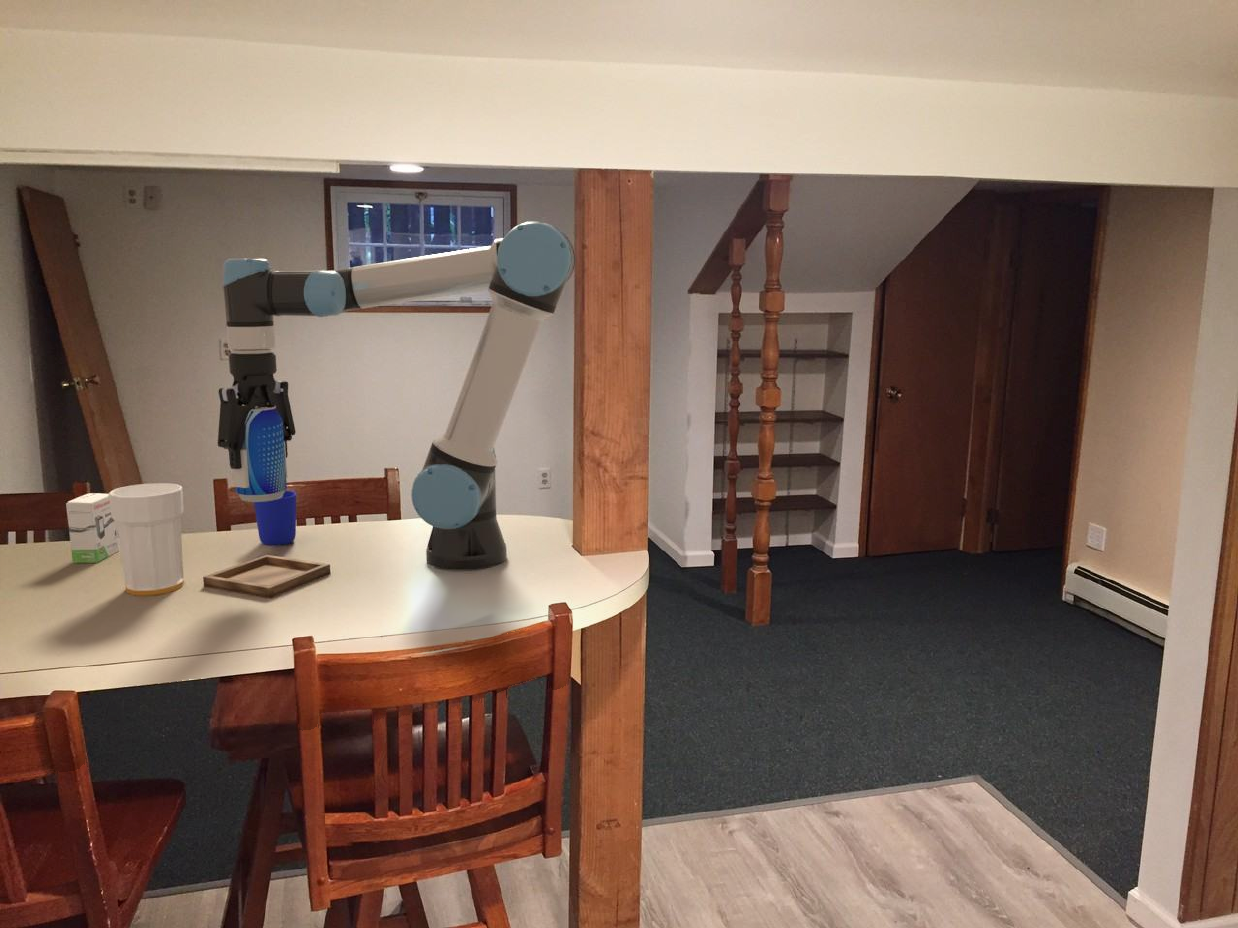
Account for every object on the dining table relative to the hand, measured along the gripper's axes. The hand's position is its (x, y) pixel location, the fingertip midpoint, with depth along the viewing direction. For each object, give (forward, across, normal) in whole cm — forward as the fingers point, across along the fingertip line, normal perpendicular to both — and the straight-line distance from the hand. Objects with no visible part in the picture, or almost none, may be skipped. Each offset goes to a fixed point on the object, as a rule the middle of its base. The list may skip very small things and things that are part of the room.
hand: (261, 481), depth 170 cm
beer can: (+3, 0, 0) cm, 3 cm away
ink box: (+18, +2, -41) cm, 45 cm away
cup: (+18, +11, -15) cm, 26 cm away
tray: (+18, 0, 0) cm, 18 cm away
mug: (+18, -22, -17) cm, 33 cm away
